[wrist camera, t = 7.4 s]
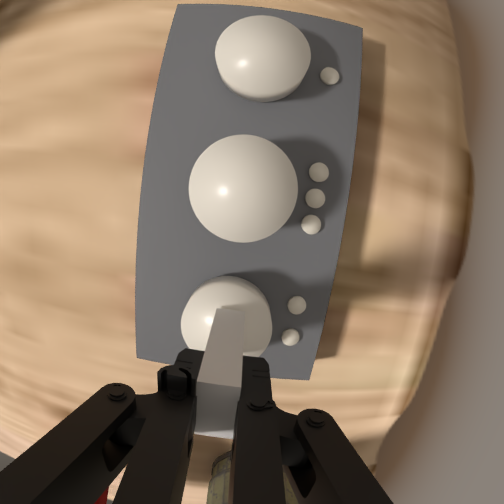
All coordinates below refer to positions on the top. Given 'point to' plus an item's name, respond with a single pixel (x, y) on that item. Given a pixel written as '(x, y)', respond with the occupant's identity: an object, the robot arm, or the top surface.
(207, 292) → the button two dots
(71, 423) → the robot arm
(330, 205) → the button panel
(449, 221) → the top surface
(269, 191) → the button three dots
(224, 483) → the thermos
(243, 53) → the button one dot
